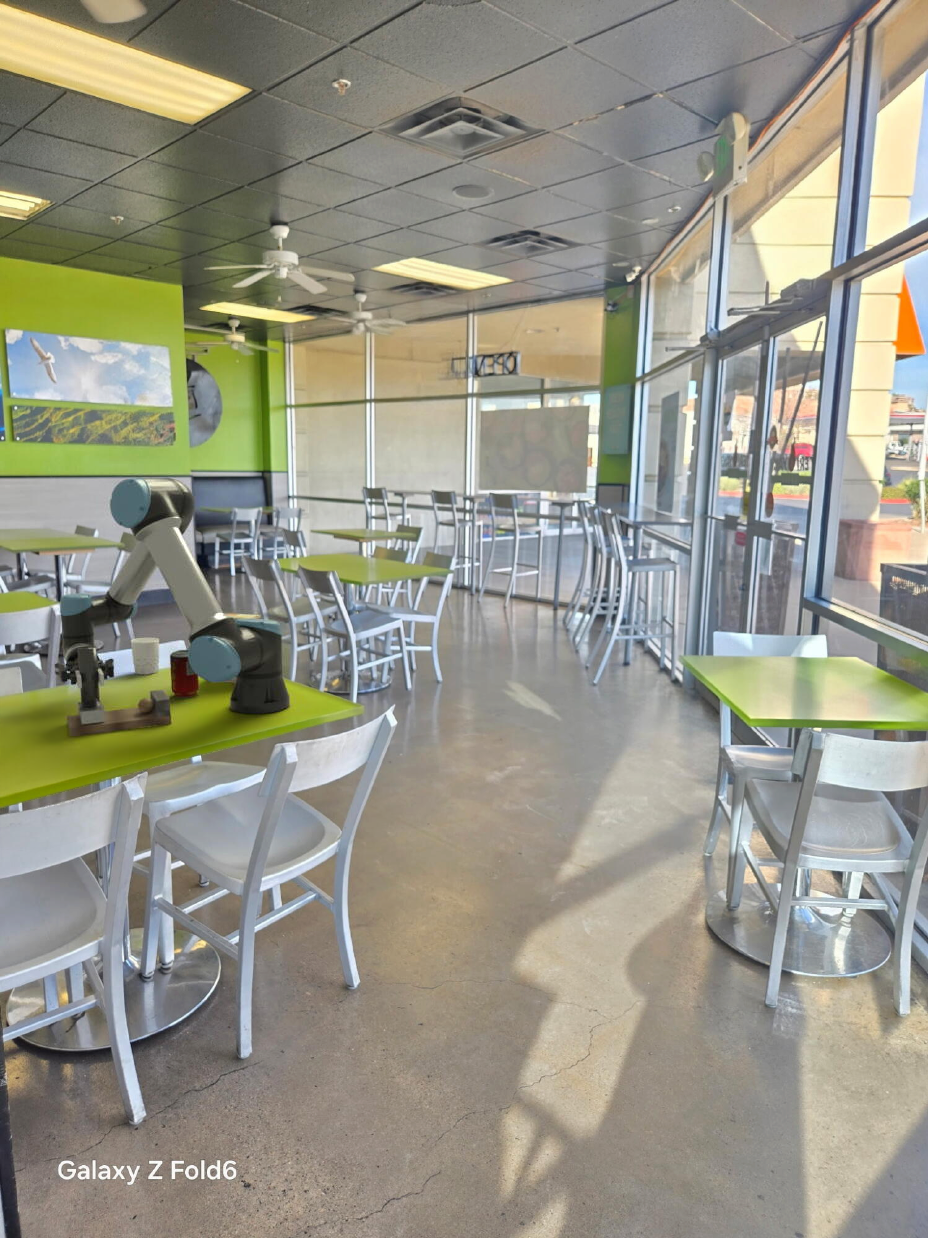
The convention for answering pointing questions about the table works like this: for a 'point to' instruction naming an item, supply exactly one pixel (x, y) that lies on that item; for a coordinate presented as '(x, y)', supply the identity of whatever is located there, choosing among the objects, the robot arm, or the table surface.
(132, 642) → the white cup
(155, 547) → the robot arm
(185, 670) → the soda can
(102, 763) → the table surface
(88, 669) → the post
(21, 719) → the table surface
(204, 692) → the table surface
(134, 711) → the nutcracker bench
